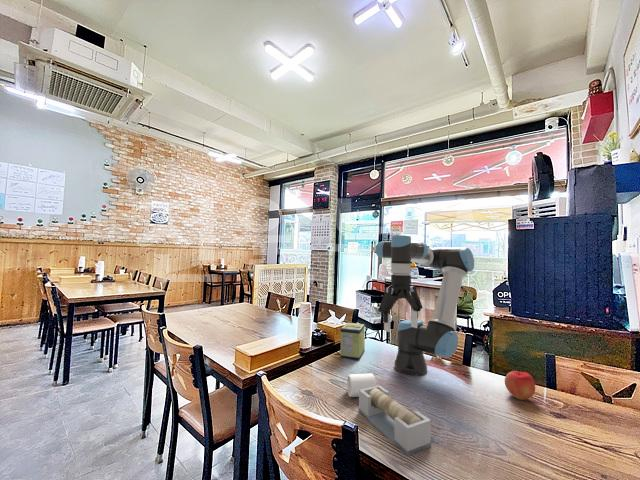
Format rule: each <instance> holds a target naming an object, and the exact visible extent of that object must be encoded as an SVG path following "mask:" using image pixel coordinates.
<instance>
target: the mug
mask: <svg viewBox="0 0 640 480" xmlns="http://www.w3.org/2000/svg"><path fill="white" fill-rule="evenodd" d="M376 380H377V379H376V376H375V375H374V374H373V373H372V372H370V373H355V374H354V373H353V374H352V373H351V374H348V375H347V376H346V387H347V393H348V397H349V398H359V390H362V389H366V388H370V387H374V386H377V381H376Z"/></svg>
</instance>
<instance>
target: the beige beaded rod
mask: <svg viewBox="0 0 640 480" xmlns="http://www.w3.org/2000/svg"><path fill="white" fill-rule="evenodd" d="M369 395H370V396H371V403H373V404H374V405H375V406H376V407H378V408H379V409H380V410H381V411H383V412H384V413H385V414H386V415H388V416H389V417H390V418H391V419H393V420H394V418H396V417H398V418H400V419H401V420H402V421H403V422H405V423H406V424H407V425H411V424H414V423H416V422H419V421H422V420H421V419H420V418H418V417H417V416H416V415H414V412H413V413H412V412H411V411H410V410H409V409H407V408H406V407H405V406H403V405H402V404H400V403H399V402H398V401H396V400H394V399H393V398H391V396H390V395H389V396H387V395H386V394H384V393H383V392H382V391H380V390H379V389H377V388H374V389H372V390H371V392H370V394H369Z"/></svg>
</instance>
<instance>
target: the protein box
mask: <svg viewBox="0 0 640 480" xmlns="http://www.w3.org/2000/svg"><path fill="white" fill-rule="evenodd" d="M365 331H366V330H365V323H356V322H346V323H345V324H344V325H343V326H342V327H341V328H340V359H344V358H345V359H347V360H353V361H360V360H361V358H362V356H363V355H364V353H365V350H366V349H365V345H366V344H365V343H366V341H365V337H366V333H365ZM345 359H344V360H345Z"/></svg>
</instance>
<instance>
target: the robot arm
mask: <svg viewBox="0 0 640 480" xmlns="http://www.w3.org/2000/svg"><path fill="white" fill-rule="evenodd" d="M374 251H375V255H376V256H377V257H378V258H381V259H390V263H391V268H390V273H391V275H390V277H391V279H390V284H391V285H392V286H391V287H390V286H386V287H384V288H385V289H384V294H383V297H382V299H381V302H380V305H379V307H378V309H377V310H378V312H379V313H382V323H383V330H384V332H387V333H391V313H390V312H391V310H392V309H393V307H394V305H395V304H396V302H397V301H399V300H401V299H405V300H406V301H407V303H408V304H409V306H410V308H411V310H410V319H404V320H401V321H399V322H398V324H397V325H398V326H397V353H396V358H395V360H394V362H393V363H394V369H395V370H396V371H397V372H399V373H401V374H405V375H409V376H423V375H425V374H427V373H428V365H427V363H426V362H427V361H426V359H425V356H424V353H428V354H431V355H434V356H437V357H442V358H447V359H448V358H451V357H452V356H453V355H454V354H455V353H456V350H457V348H458V345H459V335H458V333H457V332H456V328H455V326H454V325H453V323H454V320H455V315H456V309H457V307H458V301H459V298H460V297H459V296H460V292H461V287H462V284H463V283H462V282H463V279H464V278H465V277H467V275H468V272H473V271H474V268H475V258H474V253H473V252H472V250H471V249H470V248H469V247H461V246H458V247H453V246H451V247H441V246H440V247H430V248H429V247H428V245H427V244H426V242H424V241H422V240H421V241H420V240H412V237H411V235H410V234H394V235H391V240H390V241H386V240H384V241H378V243H377V244H376V245H375V250H374ZM412 263H416V264H419V265H421V266H423V267H429V268H432V269H436V270H441V271H442V273H443V276H442V281H441V284H440V288H439V293H438V296H437V299H436V304H435V307H434V312H433V316H432V318H431V319H429V320H428V323H427V325H424V322H423V320H421V319H420V320H419V312H421V310H422V309H423V307H424V306H423V305H422V304H423V303H422V301H421V300H420V297H419V294H418V290H417V289H418V288H417V286H415V285H411V284H412V275H411V274H412Z"/></svg>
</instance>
